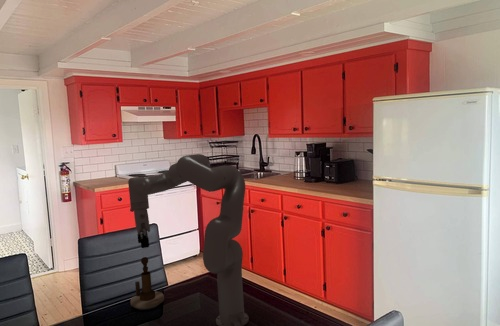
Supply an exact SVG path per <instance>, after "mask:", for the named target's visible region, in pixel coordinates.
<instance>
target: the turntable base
mask: <svg viewBox="0 0 500 326" xmlns="http://www.w3.org/2000/svg"><path fill="white" fill-rule="evenodd" d="M159 305H160V304H158V305H156V306H153V307H149V308H136V309H137V310H138V311H149V310H153V309H155V308H157V307H158V306H159Z"/></svg>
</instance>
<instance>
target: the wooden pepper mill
mask: <svg viewBox="0 0 500 326" xmlns="http://www.w3.org/2000/svg"><path fill="white" fill-rule="evenodd" d="M140 262H141V264H142V265H143V266H142V271H143V272H141V273H140V276H141V290H142V291H140V300H141V301H149V300H152V299H154V298H155V291H156V290H154V289H152V288H153V287H152V277H151V275H152V274H151V272H150V271H148V269H149V267H148V263H149V258H148V257H146V256H143V257H142V258H141V259H140Z"/></svg>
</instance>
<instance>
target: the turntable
mask: <svg viewBox="0 0 500 326" xmlns="http://www.w3.org/2000/svg"><path fill="white" fill-rule="evenodd" d="M134 284H135V295H134V296H132V297H131V299H130V306H131V307H133V308H135V309H137V308H149V307H153V306H156V305H158V304H159V305H160V304H162V303H163V302H164V300H165V297H164V294H163V292H160V291H156V290H154V291H155V298H154V299H152V300H149V301H141V300H140V293H141V283H140V281H135V283H134ZM159 305H158V306H159Z"/></svg>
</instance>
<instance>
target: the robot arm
mask: <svg viewBox="0 0 500 326" xmlns="http://www.w3.org/2000/svg"><path fill="white" fill-rule="evenodd" d="M187 182H188V183H190V184H192V185H193V186H195V187H198V188H200V189H202V190H203V191H206V192H211V193H212V192H217V191H220V190H224V192H223V194H222V197H221V199H220V201H221V202H220V209H219V211H220V212H219V215H218V216H216V217H214V218H213V219H211V220H209V222H208V223H207V224H206V226H205V228H204V229H205V230H204V236H203V237H204V238H203V249H202V250H203V251H202V260H203V261H202V262H203V265H204V267H205V269H206V270H207V271H208V272H209V273H211V274H217V275H216V278H217V279H216V281H217V294H218V295H217V296H218V297H217V298H218V310H219V311H218V312H219V315H218V316H217V317H216V318H215V324H216V325H217V326H245V325H247V324H248V323H249V321H250V320H249V319H250V317H249V315H248V314H247V313H246V312H245V305H244V290H243V289H244V288H243V287H244V286H243V258H244V256H243V255H244V253H243V252H244V251H243V248H242V246H241V244H240V242H238V241H237V240H235V238H236V237H237V236H239V235H240V233H241V231H242V228H243V227H242V226H243V217H244V206H245V205H244V204H245V203H244V202H245V195H246V182H245V178H244V176H243V174H242V172H241V171H240V170H239V169H238V168H236V167H235V166H232V165H220V166H214V167H211V162H210V159H209V158H208V157H207V156H206V155H205V154H201V153H197V154H188V155H183V156H182V157H180V158H179V159H178V160H177V161H176V162H175V163H173V164H171V165H170V166H169V167H168V171H166V172H163V173H159V174H155V175H149V176H134V177H130V178H129V179H128V180H127V183H128V184H127V185H128V191H129V192H128V193H129V205H130V211H132V212H133V214H134V216H133V217H134V225H135V229H136V231H137V243H138V244H140V246H141V249H146V248H150V240H149V234H148V233H150V232H151V226H150V219H149V213H148V212H149V211H148V209H150V204H149V195H153V194H154V195H155V194H158V193H161V192H162V193H163V192H166V191H168V190H171V189H173V188H176V187H178V186H180V185H183V184H184V183H187Z"/></svg>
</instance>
